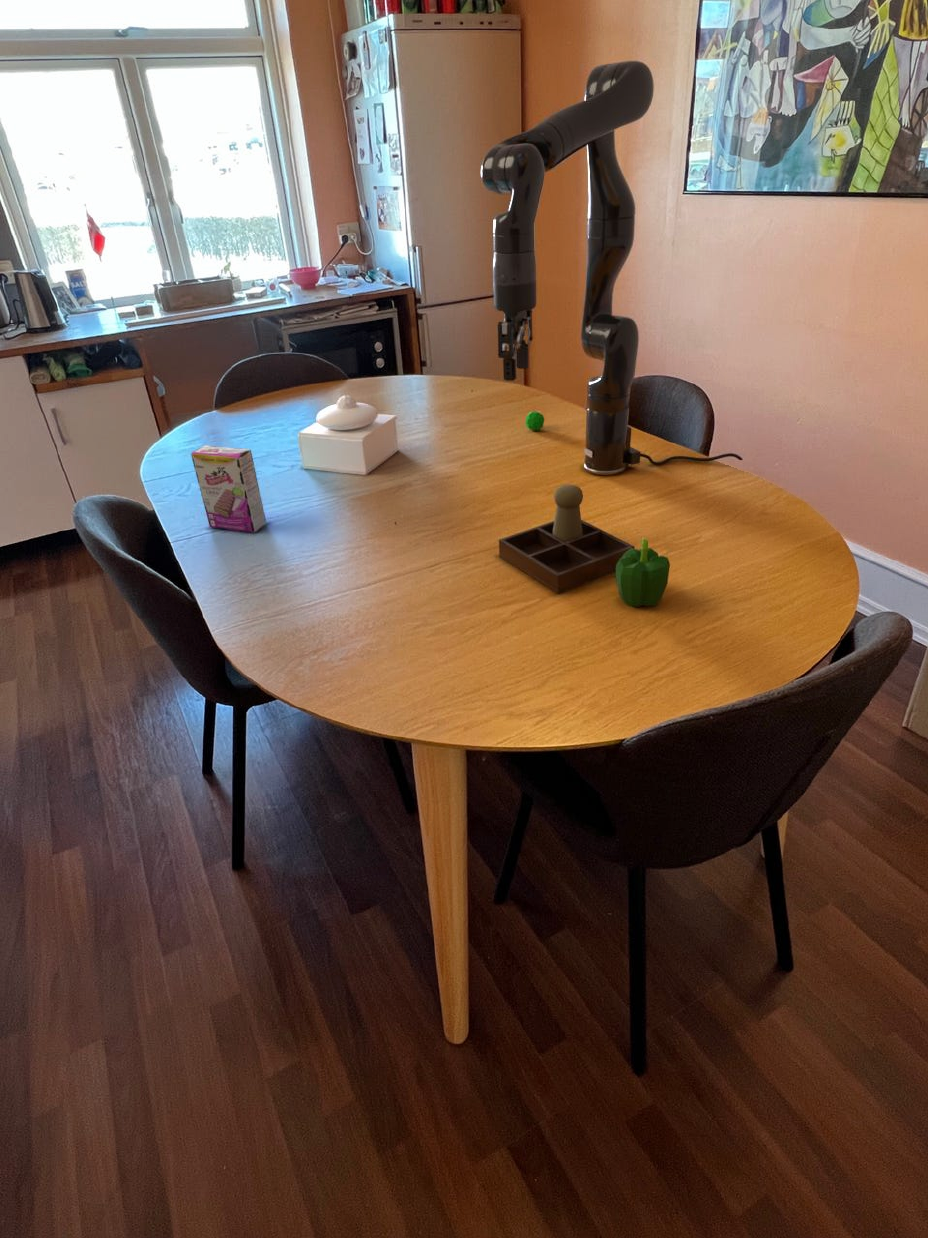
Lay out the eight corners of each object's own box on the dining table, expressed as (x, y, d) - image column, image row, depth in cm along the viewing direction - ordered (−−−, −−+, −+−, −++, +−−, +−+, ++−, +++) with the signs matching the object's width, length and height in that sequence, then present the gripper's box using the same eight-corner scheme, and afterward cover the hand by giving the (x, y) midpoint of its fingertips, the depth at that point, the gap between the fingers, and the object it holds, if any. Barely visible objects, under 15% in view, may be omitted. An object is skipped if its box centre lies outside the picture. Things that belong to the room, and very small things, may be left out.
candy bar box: (208, 529, 154) (188, 452, 145) (222, 519, 158) (204, 444, 149) (254, 534, 151) (237, 456, 142) (268, 524, 155) (251, 447, 146)
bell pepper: (656, 618, 117) (661, 562, 111) (607, 606, 120) (610, 551, 115) (673, 594, 122) (680, 539, 117) (626, 583, 126) (630, 529, 121)
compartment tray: (571, 531, 144) (571, 514, 142) (633, 563, 132) (634, 546, 130) (499, 556, 137) (498, 539, 135) (557, 593, 125) (558, 575, 123)
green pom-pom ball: (547, 428, 197) (547, 410, 195) (538, 433, 194) (538, 415, 191) (530, 425, 200) (530, 408, 197) (522, 431, 196) (521, 413, 194)
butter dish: (302, 468, 181) (291, 403, 173) (340, 444, 195) (331, 382, 187) (366, 475, 175) (357, 408, 167) (399, 449, 189) (393, 386, 181)
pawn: (582, 550, 136) (584, 494, 130) (549, 549, 137) (550, 493, 131) (584, 536, 141) (586, 481, 135) (552, 534, 142) (553, 480, 136)
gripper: (524, 286, 123) (525, 385, 132) (545, 272, 134) (545, 364, 143) (481, 286, 125) (485, 383, 134) (505, 273, 136) (508, 363, 145)
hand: (516, 373), depth 138 cm, fingers open, 8 cm apart
